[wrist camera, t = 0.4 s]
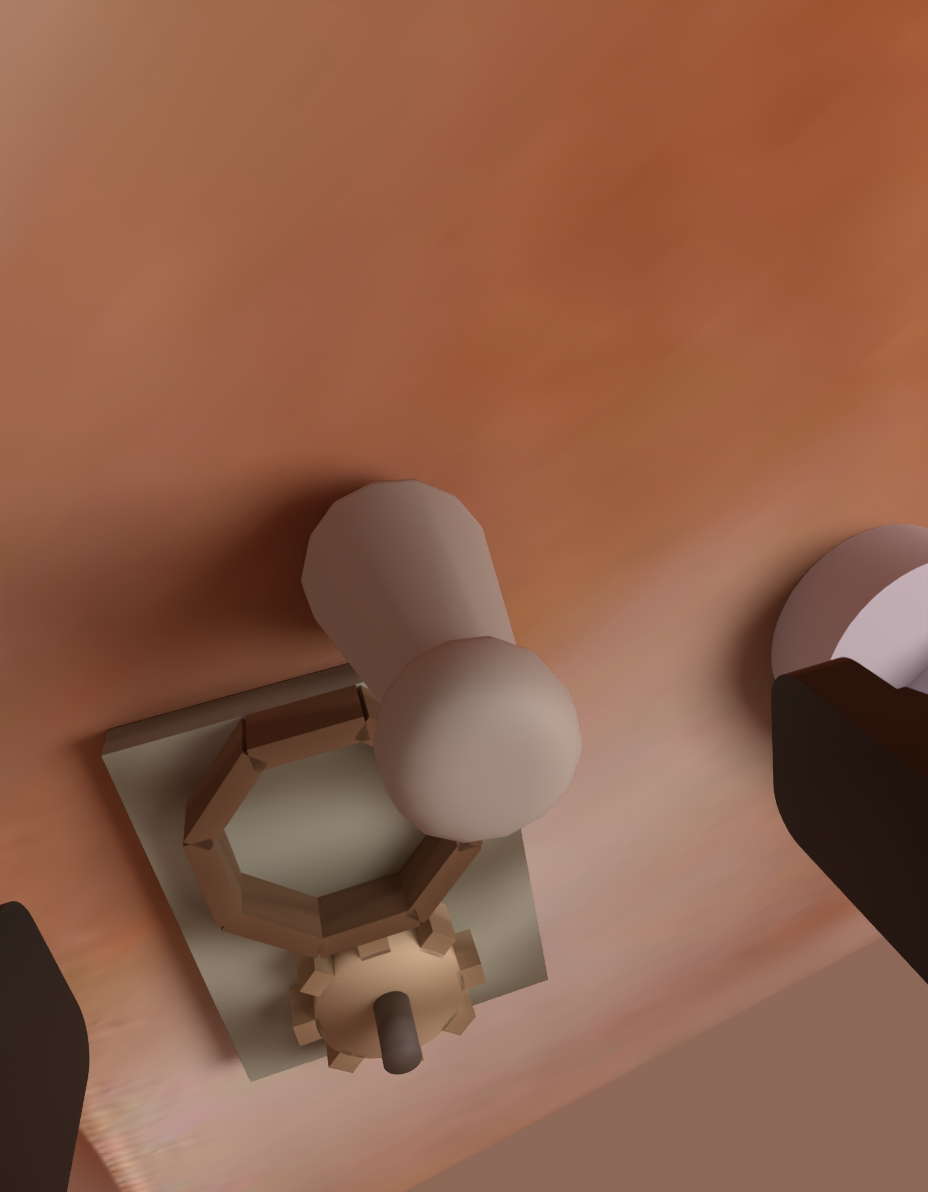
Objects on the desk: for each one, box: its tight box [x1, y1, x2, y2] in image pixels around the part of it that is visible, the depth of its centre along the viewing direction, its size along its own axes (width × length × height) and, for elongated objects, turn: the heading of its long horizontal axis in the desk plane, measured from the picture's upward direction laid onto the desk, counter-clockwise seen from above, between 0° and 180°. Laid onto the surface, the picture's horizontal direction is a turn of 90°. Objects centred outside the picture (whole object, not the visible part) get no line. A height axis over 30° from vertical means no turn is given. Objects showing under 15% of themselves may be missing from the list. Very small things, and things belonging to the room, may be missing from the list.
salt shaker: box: [301, 479, 582, 843], centre depth 22 cm, size 6×6×13 cm
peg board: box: [101, 663, 548, 1082], centre depth 31 cm, size 17×13×6 cm
